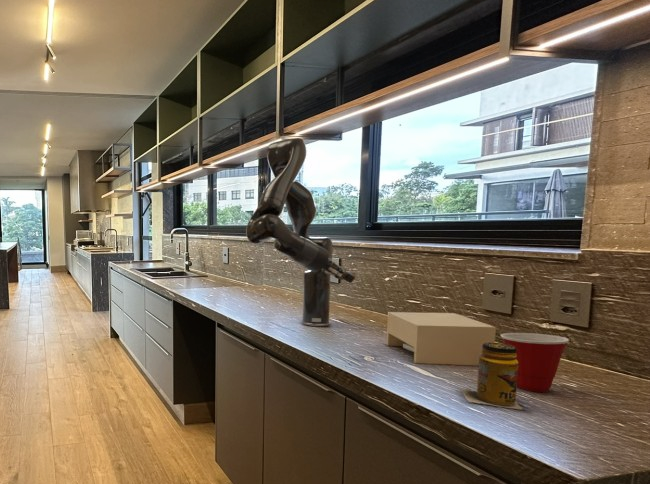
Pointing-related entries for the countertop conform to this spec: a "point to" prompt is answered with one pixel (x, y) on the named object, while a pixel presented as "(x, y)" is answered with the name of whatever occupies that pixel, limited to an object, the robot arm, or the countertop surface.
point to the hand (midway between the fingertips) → (351, 279)
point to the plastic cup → (536, 358)
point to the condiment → (496, 376)
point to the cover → (440, 336)
